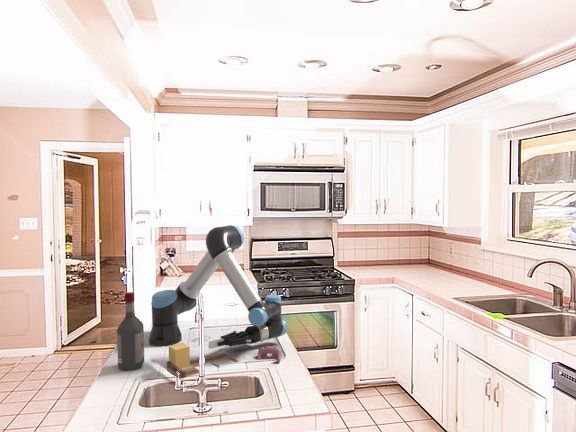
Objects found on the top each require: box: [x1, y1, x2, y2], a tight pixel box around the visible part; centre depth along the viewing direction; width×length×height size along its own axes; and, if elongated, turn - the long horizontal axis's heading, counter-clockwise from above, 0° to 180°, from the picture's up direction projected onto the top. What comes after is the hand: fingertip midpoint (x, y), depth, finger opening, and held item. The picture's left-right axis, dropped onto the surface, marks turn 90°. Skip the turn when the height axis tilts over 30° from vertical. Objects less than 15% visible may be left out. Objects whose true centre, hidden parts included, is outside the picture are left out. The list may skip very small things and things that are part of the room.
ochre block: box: [168, 342, 191, 369], centre depth 175 cm, size 6×6×8 cm
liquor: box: [116, 291, 145, 372], centre depth 179 cm, size 9×9×30 cm
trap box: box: [166, 351, 240, 379], centre depth 177 cm, size 14×25×4 cm, turn 130°
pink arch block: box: [256, 345, 282, 364], centre depth 184 cm, size 10×5×7 cm, turn 85°
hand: (209, 345), depth 183 cm, fingers closed
